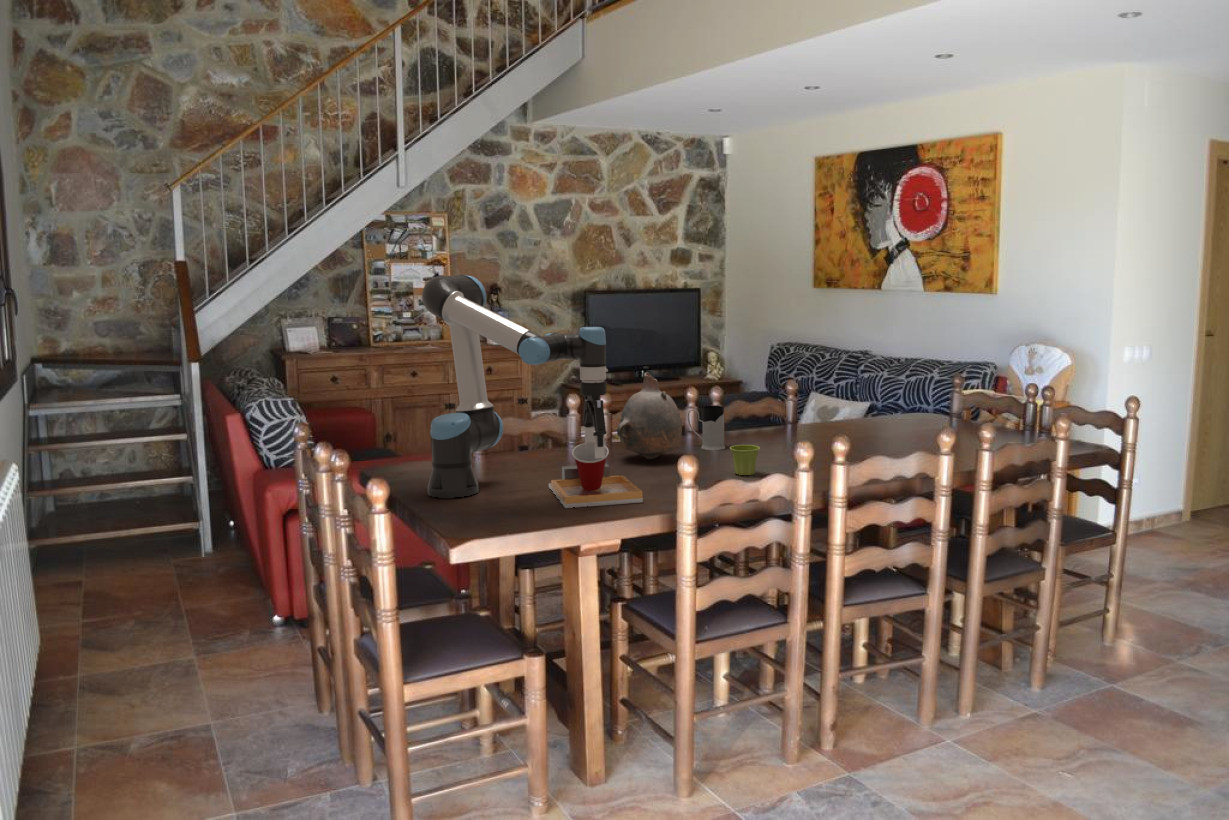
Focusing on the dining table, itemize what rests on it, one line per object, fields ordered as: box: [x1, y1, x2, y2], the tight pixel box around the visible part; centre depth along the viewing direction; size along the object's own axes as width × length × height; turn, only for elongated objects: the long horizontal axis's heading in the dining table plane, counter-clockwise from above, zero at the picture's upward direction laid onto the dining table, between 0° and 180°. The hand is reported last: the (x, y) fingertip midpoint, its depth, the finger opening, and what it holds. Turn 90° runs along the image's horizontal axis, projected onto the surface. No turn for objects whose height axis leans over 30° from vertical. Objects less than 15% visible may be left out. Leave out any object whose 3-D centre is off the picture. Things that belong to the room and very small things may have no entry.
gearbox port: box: [548, 463, 644, 509], centre depth 297 cm, size 22×27×6 cm
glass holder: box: [687, 405, 726, 451], centre depth 366 cm, size 9×14×15 cm, turn 65°
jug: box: [616, 372, 683, 460], centre depth 345 cm, size 24×21×30 cm
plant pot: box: [729, 444, 761, 476], centre depth 321 cm, size 9×9×9 cm
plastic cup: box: [571, 441, 610, 491], centre depth 296 cm, size 11×11×12 cm
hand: (594, 453), depth 293 cm, fingers open, 13 cm apart
